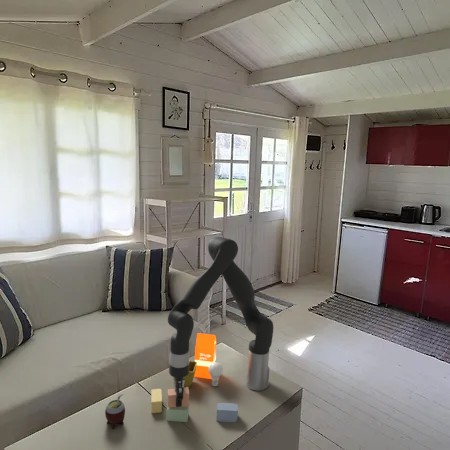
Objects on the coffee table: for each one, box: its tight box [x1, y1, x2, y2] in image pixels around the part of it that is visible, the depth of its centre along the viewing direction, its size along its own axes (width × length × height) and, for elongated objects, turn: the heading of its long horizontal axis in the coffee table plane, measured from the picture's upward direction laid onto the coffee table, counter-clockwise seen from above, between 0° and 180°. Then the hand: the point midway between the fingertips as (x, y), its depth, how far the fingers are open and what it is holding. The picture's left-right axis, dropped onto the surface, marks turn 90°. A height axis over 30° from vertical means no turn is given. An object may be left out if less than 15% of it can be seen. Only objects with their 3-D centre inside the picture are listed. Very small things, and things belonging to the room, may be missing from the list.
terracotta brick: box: [166, 387, 190, 408], centre depth 136 cm, size 8×4×5 cm, turn 102°
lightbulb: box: [208, 361, 224, 387], centre depth 158 cm, size 6×6×11 cm
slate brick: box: [216, 402, 239, 423], centre depth 138 cm, size 8×4×5 cm, turn 89°
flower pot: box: [184, 360, 197, 389], centre depth 158 cm, size 9×9×9 cm
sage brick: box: [166, 405, 190, 423], centre depth 137 cm, size 8×4×5 cm, turn 88°
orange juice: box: [194, 332, 217, 380], centre depth 166 cm, size 8×9×20 cm
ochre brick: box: [150, 388, 163, 414], centre depth 143 cm, size 8×4×5 cm, turn 12°
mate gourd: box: [104, 393, 126, 430], centre depth 131 cm, size 8×8×15 cm
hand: (178, 401), depth 136 cm, fingers open, 4 cm apart
